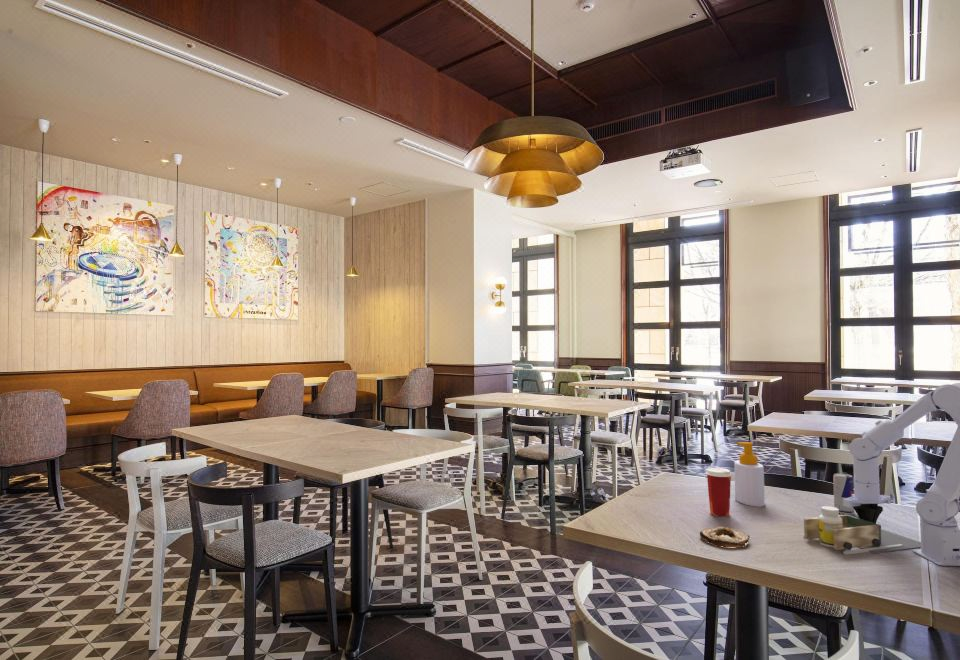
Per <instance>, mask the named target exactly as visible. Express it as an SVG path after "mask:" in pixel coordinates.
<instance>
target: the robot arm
mask: <svg viewBox="0 0 960 660" xmlns="http://www.w3.org/2000/svg"><path fill="white" fill-rule="evenodd" d="M940 410H941V411H943V412H945V413H947V415H949V416H950V417H951V418H952V420H953V421H954V422H955V423H956V425H957V428H956V430H955V432H954V435H953V437H952V439H951V441H950V444H949V445H948V446H949V447H948V448H947V451H946V453H945V456H944V458H943V460H942V463H941V464H940V468H939V469H938V472H937V475H936V477H935V479H934V482H933V483H932V485H930V487H929V489H927V491H926V493H925V495H924V497H922V498H920V499H918V501H917V502H916V505H915V510H916V513H917V514H918V516H919V527H920V528H919V529H920V532H919V533H920V542H921V548H920V549H912V552H913V553H915V554H917V555H919V556H921V557H923V558H924V559H926V560H928V561H930V562H932V563H934V564H936V565H937V566H946V567H947V566H948V567H949V566H954V567H955V566H956V567H957V566H958V567H960V528H959V526H958V521H957V519H956V518H955V517H956V516H957V515H958V514H959V512H960V504H959V500H960V382H957V383H953V384H947V383H946V384H942V385H939V386H937V387H936V388H935V389H934V390H932V391H929V392H927V393H926V394H924V395H923V396H921V397H920V398H919V399H917V400H916V401H915V402H914V403H912V404H911V405H910V406H909V407H908V408H906V409H905V410H904V411H902V412H901V413H899V415H897V416H896V417H895V418H894V419H887V418H885V419H883V420H877V421H876V422H875V423H874V425H875V426H873V427H872V428H871V429H869V430H868V431H864V432H862V433H861V437H857V438H854V439H852V440H851V442H850V443H849V446H848V450H849V453H850V454H851V455H852V461H853V464H852V465H853V466H852V467H853V484H854V494H852V497H849V498H845V499H843V506H846V507H849V508H852V507H853V508H854V512H855V513H856V515H857V516H858V517H857V518H860V519H863V520H866V521H869V522H872V523H875V524H877V521H878V520H879V517H880V515H881V514H882V513H883V512H884V508H883V506H881V505H882V504H889V505H890V504H892V496H889V495H886V494H881V493H880V490H881V489H880V468H879V467H880V466H879V457H880V456H881V455H882V453H883V451H885V450H886V449H888V448H889V447H890V446H892V445H893V444H895V443H896V442H898V441H899V440H900V439H902V438H903V437H904V435H905V434H904V433H905V432H904V431H905V429H907V428H908V427H909V426H911V425H913V424H914V423H915V422H917V421H919V420H920V419H922V418H924V417H926V416H927V415H928V414H929V413H931V412H936V411H940Z"/></svg>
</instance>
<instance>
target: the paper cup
mask: <svg viewBox="0 0 960 660" xmlns="http://www.w3.org/2000/svg"><path fill="white" fill-rule="evenodd" d="M705 475H706V477H707V478H706V479H707V492H708V493H707V494H708V501H709V502H708V503H709V504H708V505H709V511H710V512H709V513H710V515H712V514H713V515H712V516H715V515H717V516H716V517H721V516H726V517H729V516H730V510H731V509H730V508H731V507H730V506H731V480H732V479H731V478H732V473H731V470H730V469H727V468H723V467H722V468H721V467H710V468H708V469H707V470H706V471H705Z"/></svg>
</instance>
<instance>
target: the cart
mask: <svg viewBox="0 0 960 660" xmlns="http://www.w3.org/2000/svg"><path fill="white" fill-rule="evenodd" d="M838 516H839V517H840V518H841V519H842V524H843V528H840V529H833V534H834V548H833V550H836V551H837V550H846V551H850V550H853V548H855V549H856V548H858V547H864V546H872V545H875V546H880V544H881V529H882V526H881V524H879V523H876V524H875V523H872V522H869V521H866V520H863V519H860V518H859V517H856V516H853V515H847V514H845V515H843V514H839V515H838ZM803 525H804V526H803V527H804V528H803V530H804V533H803V535H805V537H806V538H807V539H813V538H812V537H816V538H820V537H819V516H818V517H807V518H804V519H803ZM806 538H805V539H806Z"/></svg>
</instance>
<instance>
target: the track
mask: <svg viewBox="0 0 960 660" xmlns="http://www.w3.org/2000/svg"><path fill="white" fill-rule="evenodd" d="M814 538H817V537H812V538H811V539H814ZM803 539H808V538H806V537H805V535H804V534H803ZM857 548H858V549H851V550H843V551H842V552H843V554H844V555H846V556H847V555H857V554H863V553H872V554H875V555H876V554H883V553H892V552H898V551H899V550H900V551H906V550H905V549H908V550H915V549H914V548H916V549H921V541H919V540H915V539H913V538H910V537H906V536H903V535H900V534H897V533H894V532H891V531H888V530H885V529H882V528H881V544H880V546H875V545H872V546H864V547H857Z"/></svg>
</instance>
